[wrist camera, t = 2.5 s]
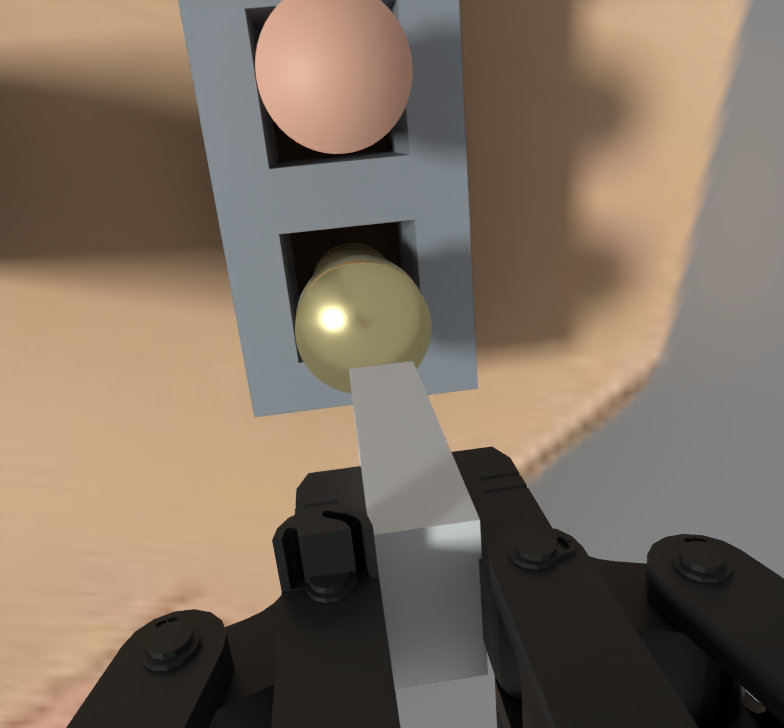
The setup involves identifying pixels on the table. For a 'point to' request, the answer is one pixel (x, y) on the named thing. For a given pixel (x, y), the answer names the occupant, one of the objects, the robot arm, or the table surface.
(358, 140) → the pink rounded piece
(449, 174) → the block
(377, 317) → the brass plunger
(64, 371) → the table surface
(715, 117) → the table surface
